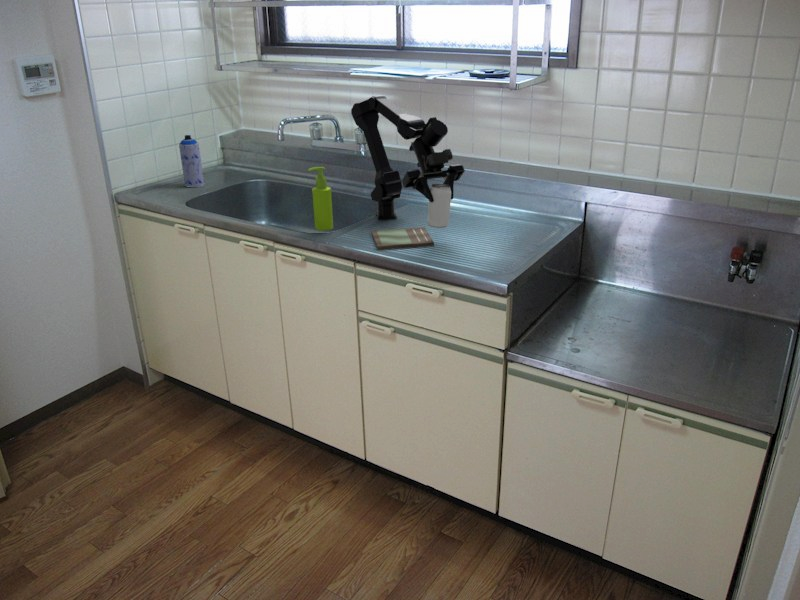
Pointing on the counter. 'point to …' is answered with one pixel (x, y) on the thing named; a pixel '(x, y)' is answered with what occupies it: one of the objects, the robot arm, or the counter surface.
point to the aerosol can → (191, 162)
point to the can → (439, 206)
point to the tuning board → (402, 238)
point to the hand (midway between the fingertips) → (442, 200)
